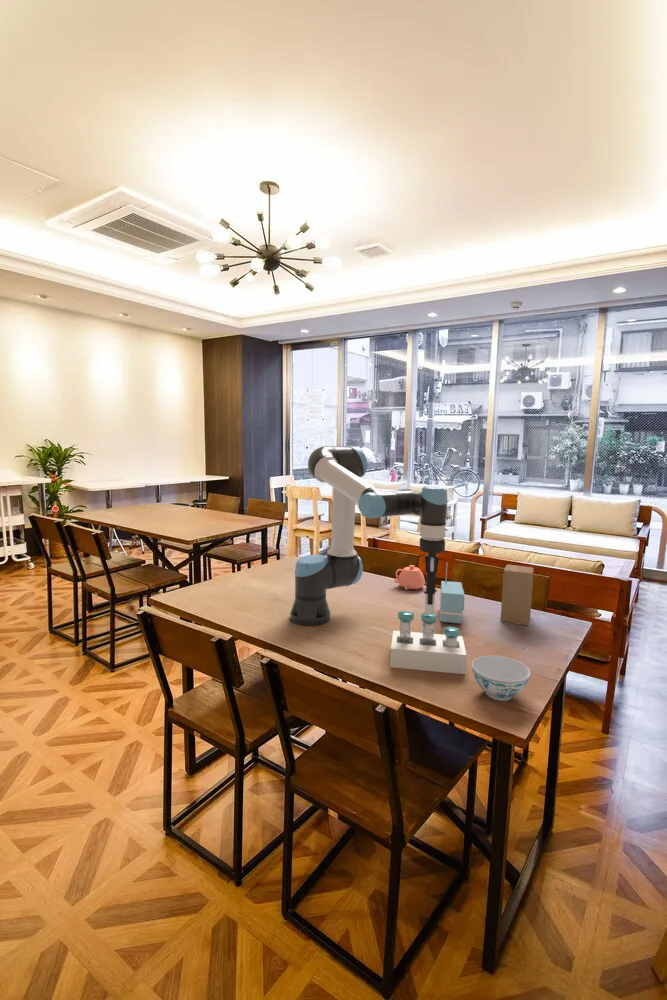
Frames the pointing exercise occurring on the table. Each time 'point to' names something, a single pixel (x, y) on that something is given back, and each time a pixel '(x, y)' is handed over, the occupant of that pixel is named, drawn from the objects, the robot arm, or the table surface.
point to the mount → (428, 654)
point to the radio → (451, 601)
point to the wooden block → (517, 594)
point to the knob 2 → (451, 636)
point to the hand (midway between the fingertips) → (429, 613)
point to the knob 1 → (405, 626)
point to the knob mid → (428, 628)
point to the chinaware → (500, 676)
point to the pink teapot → (410, 578)
